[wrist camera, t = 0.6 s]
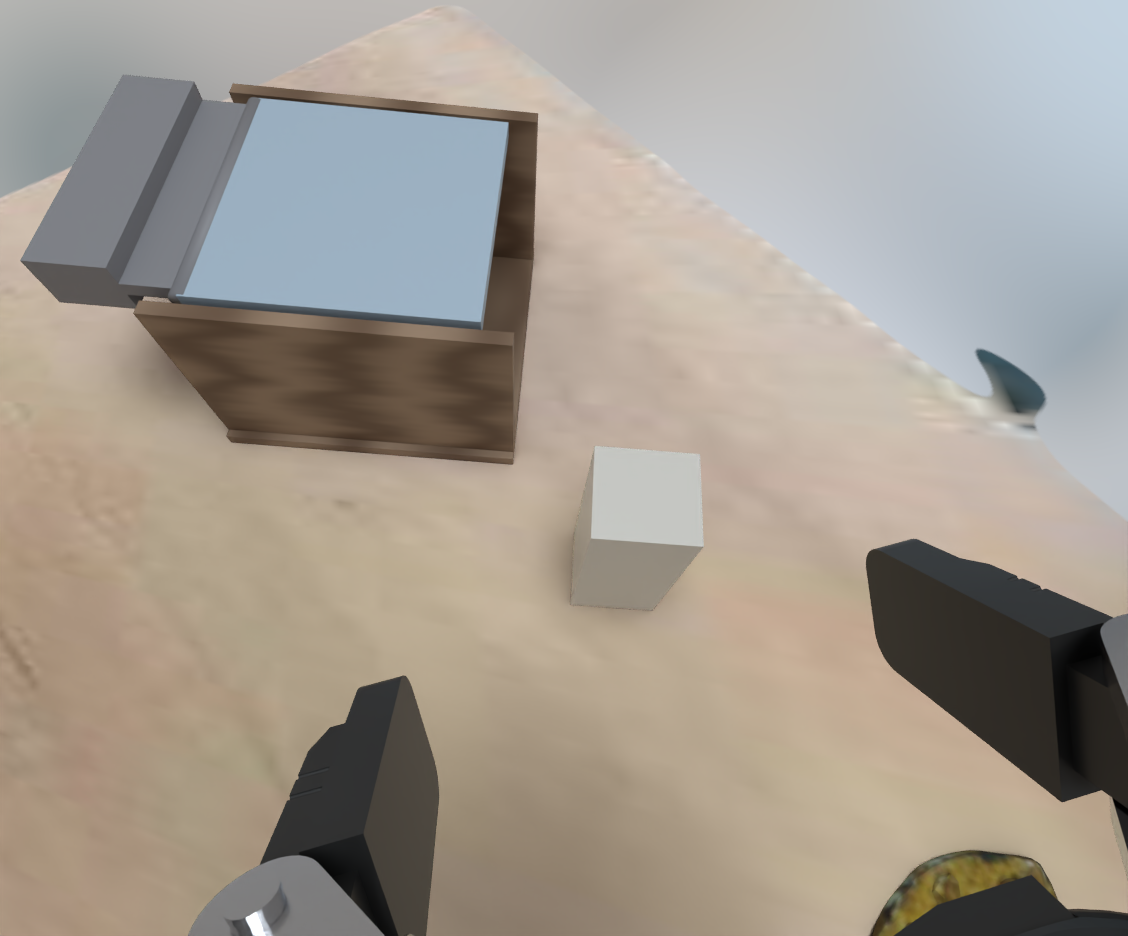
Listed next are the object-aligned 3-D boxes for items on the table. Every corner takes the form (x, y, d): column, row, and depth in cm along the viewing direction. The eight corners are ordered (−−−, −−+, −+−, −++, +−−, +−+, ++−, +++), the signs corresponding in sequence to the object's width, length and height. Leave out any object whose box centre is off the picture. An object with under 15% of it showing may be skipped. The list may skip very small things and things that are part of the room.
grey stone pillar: (570, 604, 39) (591, 538, 28) (574, 533, 41) (594, 445, 30) (652, 610, 39) (703, 546, 29) (651, 539, 41) (699, 454, 31)
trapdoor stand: (231, 442, 42) (129, 321, 31) (297, 233, 50) (235, 78, 39) (512, 464, 43) (511, 354, 32) (533, 254, 51) (538, 108, 40)
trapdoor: (55, 309, 33) (15, 268, 31) (152, 117, 40) (126, 69, 37) (482, 346, 34) (479, 308, 32) (508, 151, 41) (508, 106, 38)
